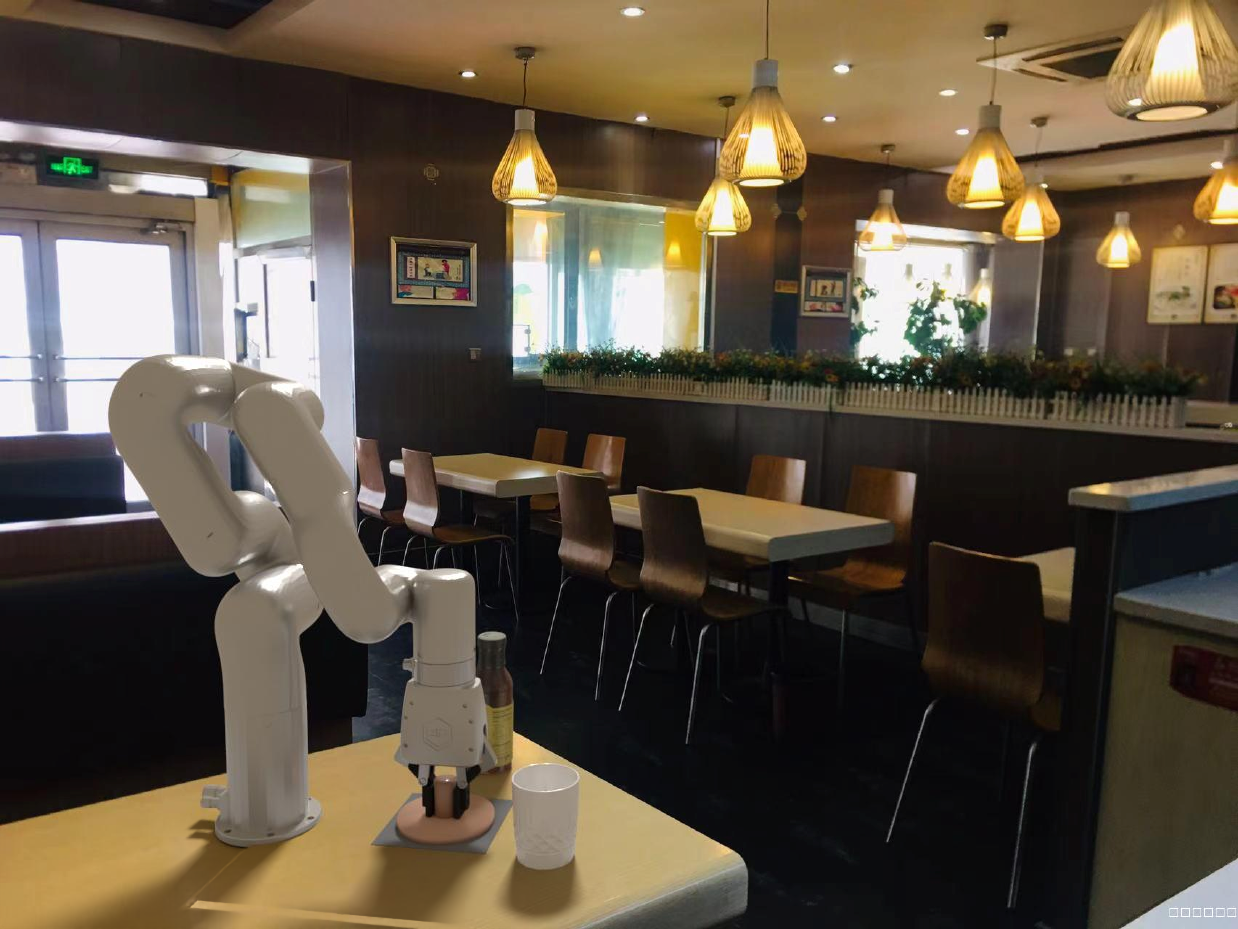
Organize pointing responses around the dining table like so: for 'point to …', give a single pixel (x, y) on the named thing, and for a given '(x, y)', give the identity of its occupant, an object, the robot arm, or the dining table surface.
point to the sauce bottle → (496, 697)
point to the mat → (476, 845)
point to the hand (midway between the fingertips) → (446, 812)
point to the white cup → (545, 814)
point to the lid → (445, 817)
